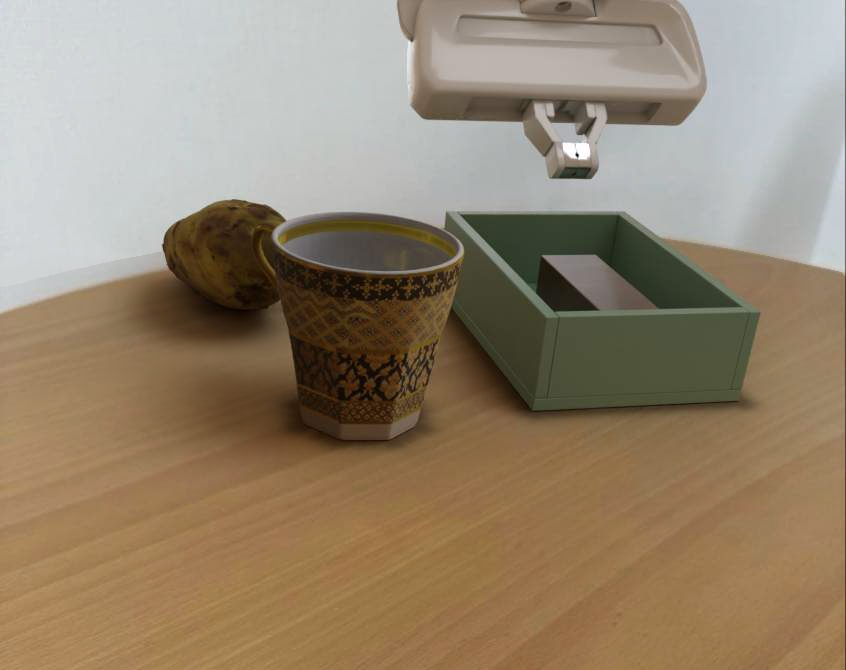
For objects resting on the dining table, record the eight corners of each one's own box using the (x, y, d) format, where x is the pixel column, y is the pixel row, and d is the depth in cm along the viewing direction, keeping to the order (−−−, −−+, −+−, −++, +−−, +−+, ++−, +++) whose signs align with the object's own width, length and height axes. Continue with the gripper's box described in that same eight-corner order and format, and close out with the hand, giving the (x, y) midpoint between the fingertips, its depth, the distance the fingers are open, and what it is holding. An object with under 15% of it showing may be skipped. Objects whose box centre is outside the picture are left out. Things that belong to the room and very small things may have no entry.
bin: (611, 287, 86) (624, 211, 83) (739, 401, 71) (761, 311, 68) (438, 291, 83) (445, 210, 80) (532, 411, 67) (546, 317, 64)
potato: (280, 276, 83) (282, 163, 78) (307, 348, 72) (311, 221, 68) (162, 276, 81) (157, 160, 76) (171, 350, 70) (167, 219, 66)
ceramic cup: (480, 415, 66) (501, 244, 61) (372, 476, 59) (385, 288, 54) (308, 349, 72) (313, 188, 67) (191, 397, 65) (187, 220, 60)
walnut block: (596, 254, 78) (675, 321, 68) (586, 310, 80) (662, 384, 70) (540, 254, 76) (613, 323, 67) (532, 312, 79) (601, 386, 69)
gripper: (404, -56, 72) (434, 145, 69) (697, -36, 77) (735, 151, 75) (382, 10, 78) (408, 198, 75) (656, 24, 83) (690, 199, 81)
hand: (574, 174), depth 75 cm, fingers closed
